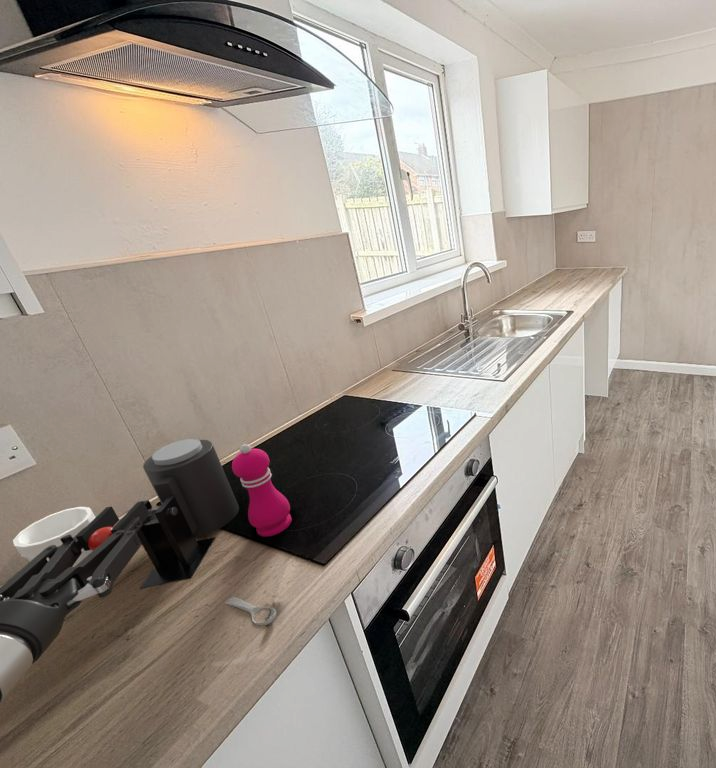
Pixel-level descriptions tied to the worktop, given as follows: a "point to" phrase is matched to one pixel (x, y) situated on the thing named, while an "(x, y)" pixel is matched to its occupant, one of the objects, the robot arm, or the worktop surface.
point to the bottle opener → (252, 609)
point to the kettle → (193, 484)
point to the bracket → (171, 545)
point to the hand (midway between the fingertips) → (128, 511)
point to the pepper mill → (261, 492)
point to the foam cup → (53, 532)
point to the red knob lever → (105, 532)
